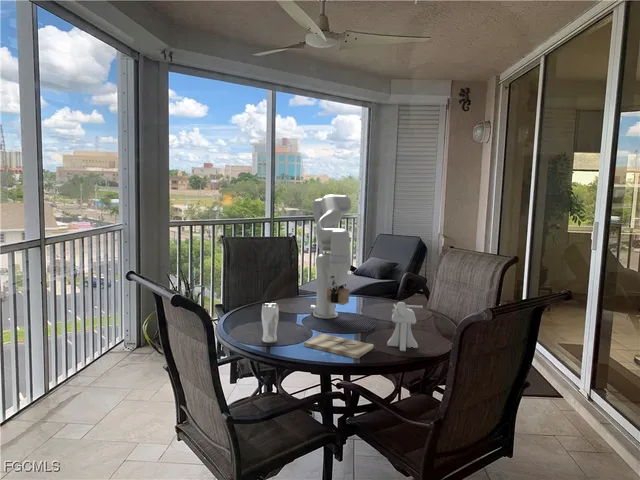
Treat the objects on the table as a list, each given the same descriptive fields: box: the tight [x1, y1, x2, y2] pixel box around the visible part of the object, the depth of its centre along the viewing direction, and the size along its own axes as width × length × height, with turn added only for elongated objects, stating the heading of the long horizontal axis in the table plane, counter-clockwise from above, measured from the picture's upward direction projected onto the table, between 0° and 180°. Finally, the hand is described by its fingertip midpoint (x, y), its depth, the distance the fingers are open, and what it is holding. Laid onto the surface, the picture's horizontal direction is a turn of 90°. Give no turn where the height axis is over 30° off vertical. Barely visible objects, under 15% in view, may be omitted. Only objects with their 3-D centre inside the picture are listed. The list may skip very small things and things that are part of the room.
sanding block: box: [327, 287, 350, 306], centre depth 189 cm, size 8×5×6 cm, turn 59°
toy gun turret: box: [386, 301, 424, 352], centre depth 179 cm, size 12×13×18 cm
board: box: [303, 333, 375, 359], centre depth 176 cm, size 24×14×2 cm, turn 59°
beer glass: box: [261, 302, 280, 344], centre depth 181 cm, size 7×7×15 cm
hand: (337, 300), depth 189 cm, fingers closed on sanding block, 5 cm apart
